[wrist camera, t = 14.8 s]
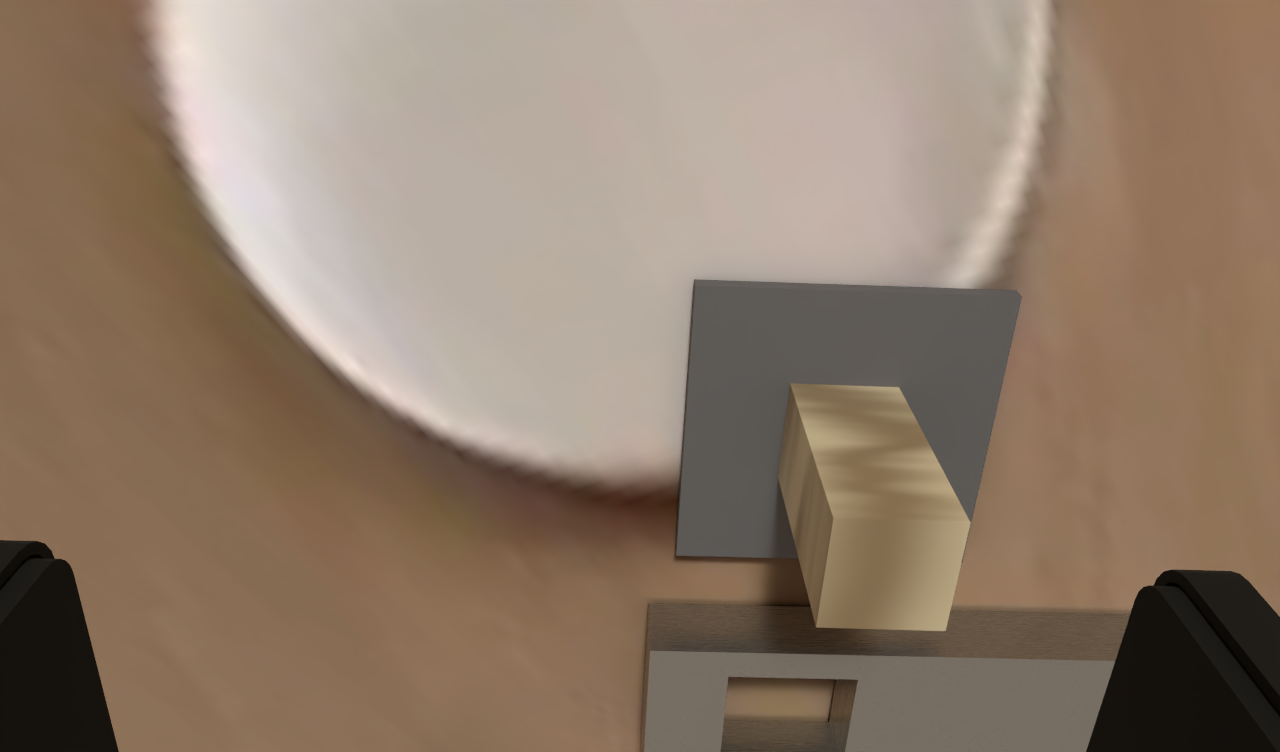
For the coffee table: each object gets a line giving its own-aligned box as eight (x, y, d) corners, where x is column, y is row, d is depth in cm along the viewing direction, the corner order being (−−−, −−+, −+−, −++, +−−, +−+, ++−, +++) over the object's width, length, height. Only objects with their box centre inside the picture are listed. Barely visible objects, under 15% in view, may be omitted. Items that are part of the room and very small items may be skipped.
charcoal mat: (1016, 290, 38) (1022, 296, 38) (958, 554, 43) (962, 562, 43) (694, 279, 38) (695, 285, 37) (675, 547, 43) (675, 555, 43)
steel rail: (1148, 614, 45) (1181, 662, 42) (1103, 748, 49) (1131, 799, 46) (648, 603, 44) (650, 650, 42) (640, 739, 48) (641, 790, 45)
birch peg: (899, 387, 39) (970, 522, 31) (882, 480, 41) (945, 631, 33) (790, 383, 39) (833, 518, 31) (778, 477, 41) (815, 627, 33)
